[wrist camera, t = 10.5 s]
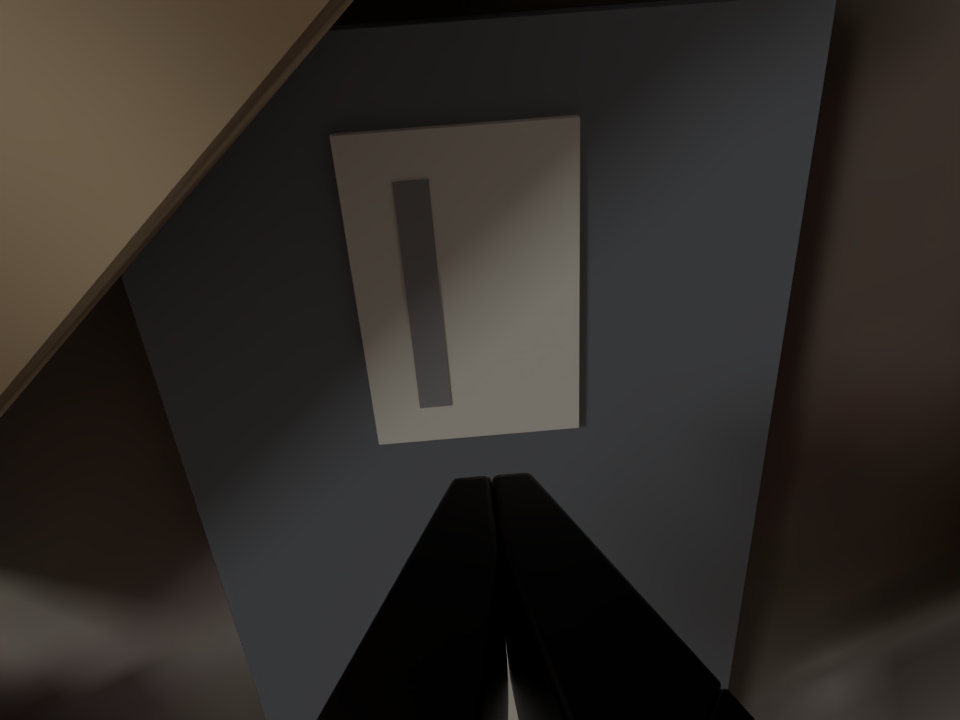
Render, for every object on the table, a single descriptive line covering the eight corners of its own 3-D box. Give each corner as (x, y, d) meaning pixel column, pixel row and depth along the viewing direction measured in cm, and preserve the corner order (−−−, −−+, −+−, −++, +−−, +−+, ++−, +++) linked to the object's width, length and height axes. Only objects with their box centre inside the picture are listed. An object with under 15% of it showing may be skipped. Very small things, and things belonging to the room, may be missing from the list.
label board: (704, 711, 21) (721, 758, 20) (296, 750, 21) (288, 799, 20) (802, -10, 12) (845, -7, 11) (81, 44, 12) (39, 53, 11)
